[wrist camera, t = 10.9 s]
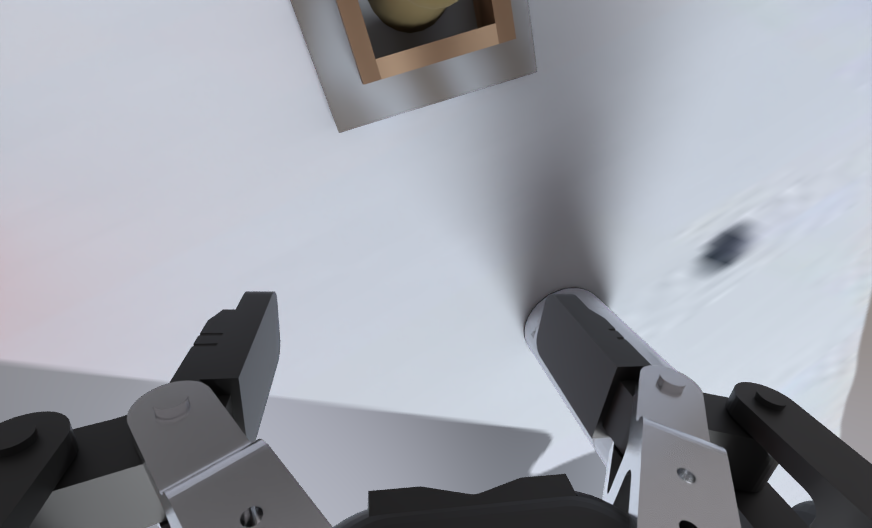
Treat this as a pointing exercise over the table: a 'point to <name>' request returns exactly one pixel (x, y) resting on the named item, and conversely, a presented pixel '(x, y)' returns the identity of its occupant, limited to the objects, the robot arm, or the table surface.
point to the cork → (409, 13)
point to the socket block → (412, 55)
